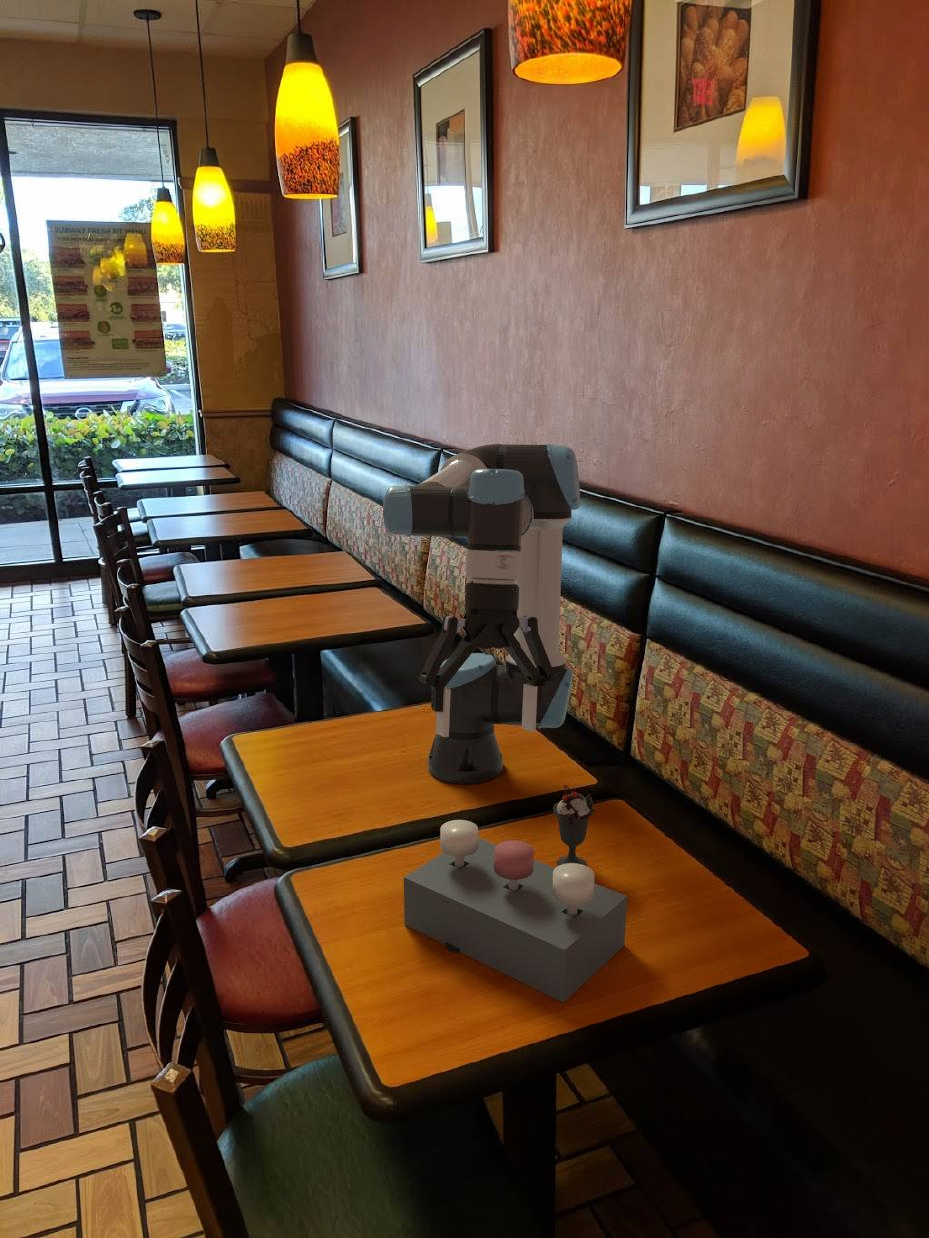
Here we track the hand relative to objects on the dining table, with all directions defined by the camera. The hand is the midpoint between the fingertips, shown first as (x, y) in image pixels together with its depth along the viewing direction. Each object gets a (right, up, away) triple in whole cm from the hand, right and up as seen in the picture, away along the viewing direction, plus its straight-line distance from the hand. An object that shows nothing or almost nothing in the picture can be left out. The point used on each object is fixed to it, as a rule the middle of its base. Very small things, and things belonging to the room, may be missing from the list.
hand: (486, 732), depth 136 cm
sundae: (+15, -25, +24) cm, 37 cm away
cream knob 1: (-4, -23, +9) cm, 25 cm away
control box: (+4, -30, +5) cm, 31 cm away
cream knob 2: (+12, -26, -3) cm, 29 cm away
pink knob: (+4, -24, +3) cm, 25 cm away
